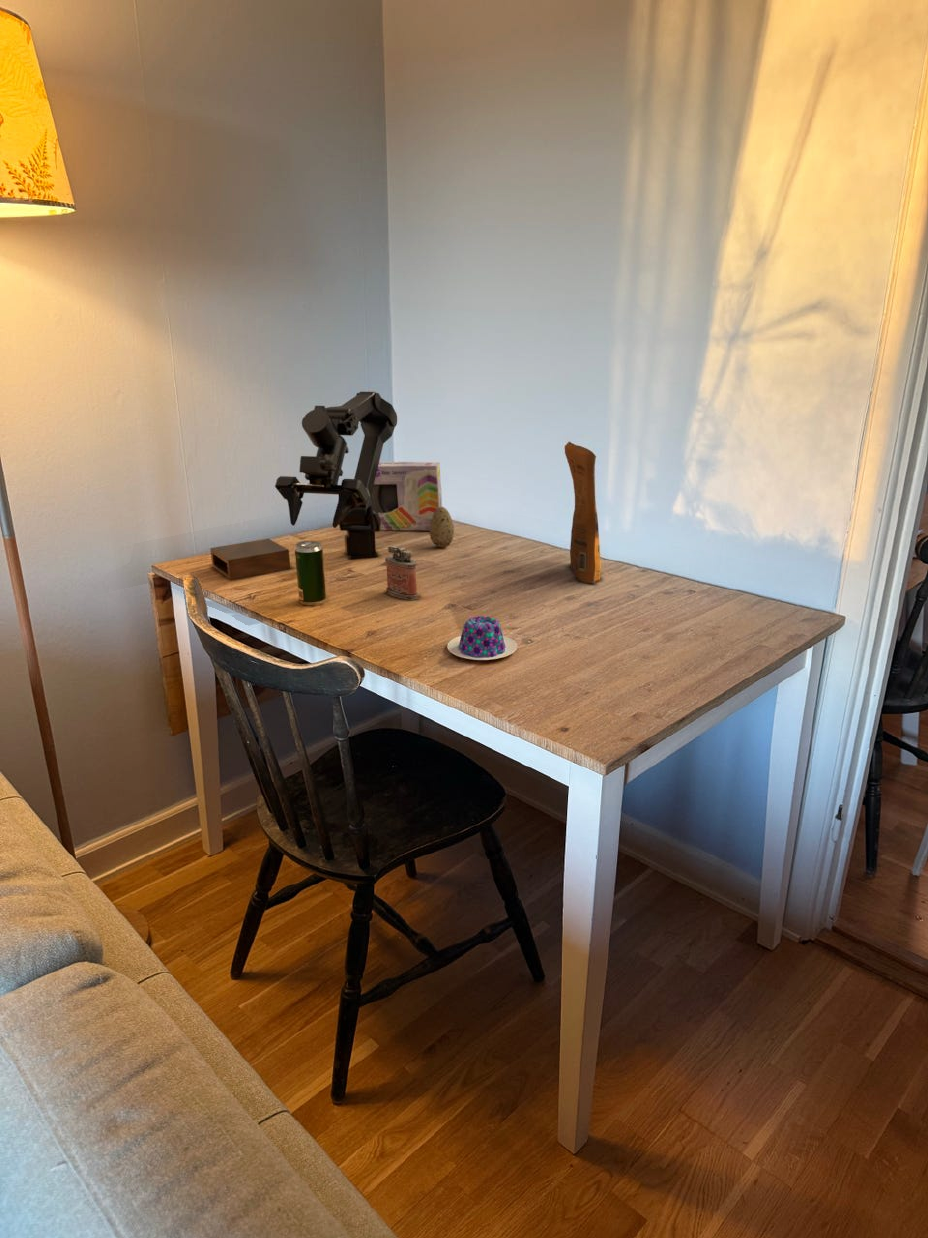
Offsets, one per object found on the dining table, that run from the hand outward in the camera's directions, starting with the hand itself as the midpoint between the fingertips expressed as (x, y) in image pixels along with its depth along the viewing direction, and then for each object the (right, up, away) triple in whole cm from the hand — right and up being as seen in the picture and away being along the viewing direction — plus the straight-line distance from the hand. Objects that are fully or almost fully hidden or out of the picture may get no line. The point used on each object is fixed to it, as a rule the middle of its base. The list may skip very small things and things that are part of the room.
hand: (313, 525), depth 169 cm
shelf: (-18, -7, +19) cm, 27 cm away
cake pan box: (+16, +5, +51) cm, 53 cm away
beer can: (+1, -16, -3) cm, 16 cm away
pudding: (+34, -25, -27) cm, 50 cm away
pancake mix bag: (+57, -9, +13) cm, 59 cm away
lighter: (+18, -14, 0) cm, 23 cm away
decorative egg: (+26, -2, +34) cm, 43 cm away
